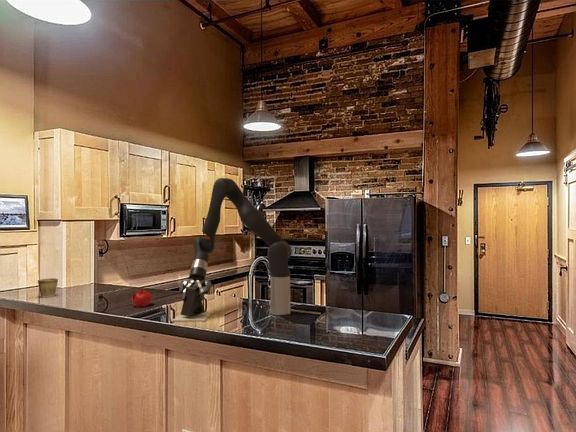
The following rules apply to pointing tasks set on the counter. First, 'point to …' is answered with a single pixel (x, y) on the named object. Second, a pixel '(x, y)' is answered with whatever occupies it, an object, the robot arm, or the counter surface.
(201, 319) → the board
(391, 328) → the counter surface
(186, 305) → the phone stand
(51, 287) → the ceramic cup
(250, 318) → the counter surface
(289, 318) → the counter surface
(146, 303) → the pomegranate
